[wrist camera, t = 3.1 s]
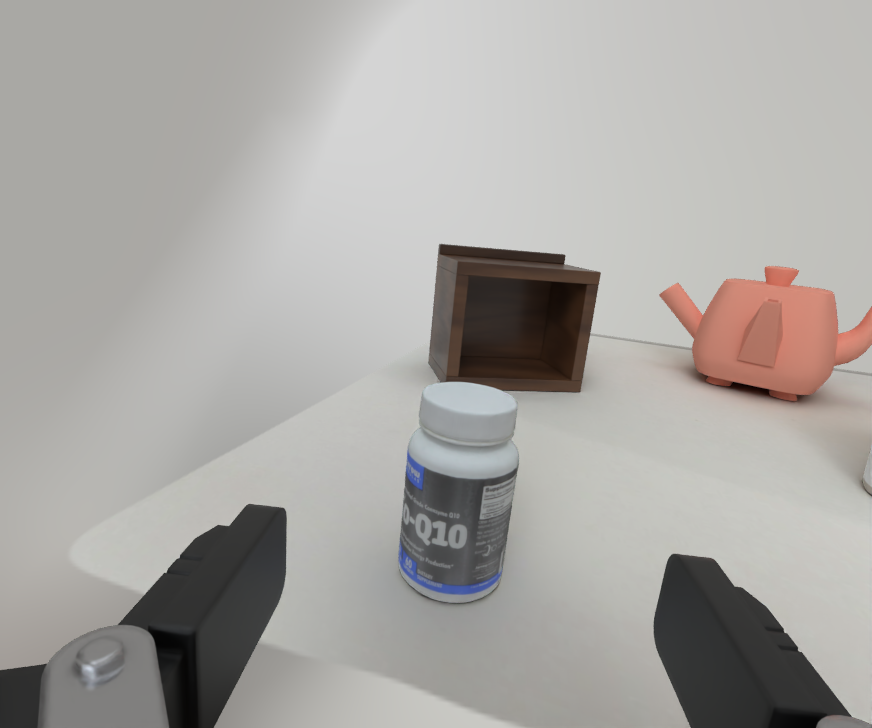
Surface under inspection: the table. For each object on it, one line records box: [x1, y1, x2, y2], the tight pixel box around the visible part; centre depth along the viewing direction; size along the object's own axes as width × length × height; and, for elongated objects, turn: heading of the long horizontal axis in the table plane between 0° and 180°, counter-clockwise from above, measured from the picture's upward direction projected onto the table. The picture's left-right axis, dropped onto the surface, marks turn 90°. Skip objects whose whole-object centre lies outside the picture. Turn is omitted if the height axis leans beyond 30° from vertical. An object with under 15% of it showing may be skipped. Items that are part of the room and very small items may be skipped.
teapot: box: [660, 266, 872, 401], centre depth 61 cm, size 18×18×14 cm
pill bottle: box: [398, 382, 519, 603], centre depth 23 cm, size 5×5×8 cm
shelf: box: [428, 244, 601, 392], centre depth 54 cm, size 9×14×13 cm, turn 101°
